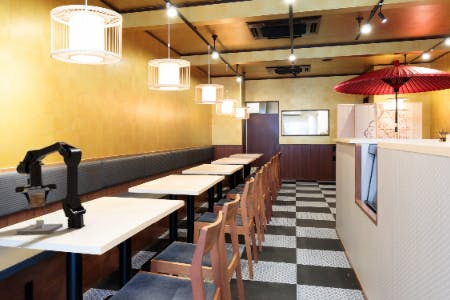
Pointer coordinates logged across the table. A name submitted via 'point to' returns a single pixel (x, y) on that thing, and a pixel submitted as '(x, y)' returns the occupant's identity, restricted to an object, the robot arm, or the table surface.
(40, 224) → the grey small block
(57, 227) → the gray rectangular slab
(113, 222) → the table surface
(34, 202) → the shipping carton
